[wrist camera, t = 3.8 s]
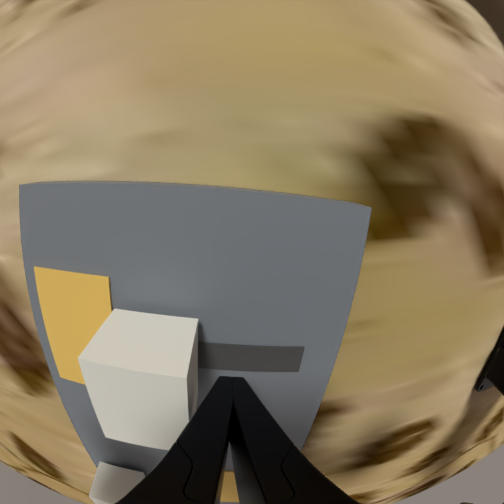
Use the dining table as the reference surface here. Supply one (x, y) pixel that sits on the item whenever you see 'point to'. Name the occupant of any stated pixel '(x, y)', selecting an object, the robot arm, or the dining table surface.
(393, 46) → the dining table surface
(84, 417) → the switch panel
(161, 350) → the slider
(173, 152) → the dining table surface
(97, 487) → the slider
